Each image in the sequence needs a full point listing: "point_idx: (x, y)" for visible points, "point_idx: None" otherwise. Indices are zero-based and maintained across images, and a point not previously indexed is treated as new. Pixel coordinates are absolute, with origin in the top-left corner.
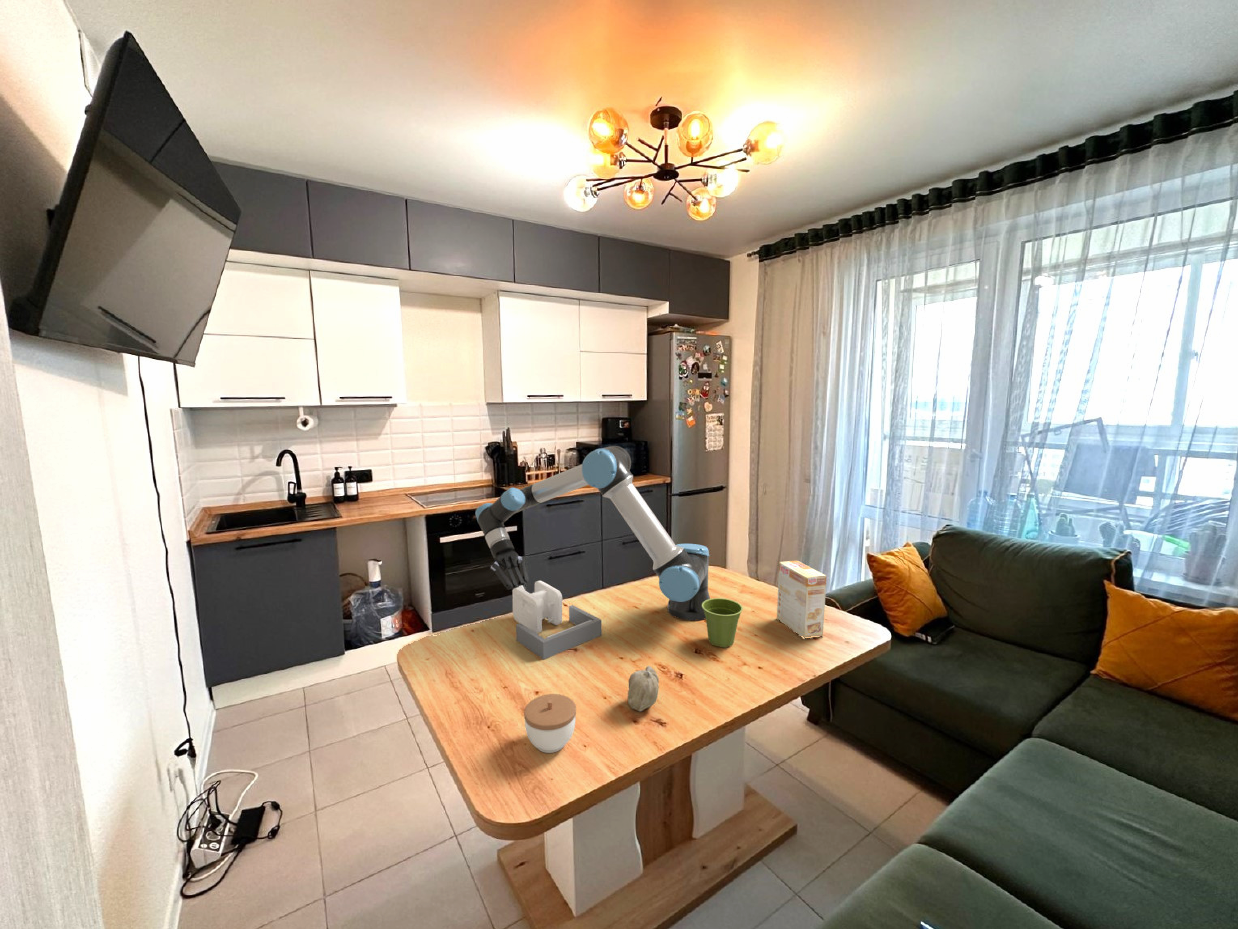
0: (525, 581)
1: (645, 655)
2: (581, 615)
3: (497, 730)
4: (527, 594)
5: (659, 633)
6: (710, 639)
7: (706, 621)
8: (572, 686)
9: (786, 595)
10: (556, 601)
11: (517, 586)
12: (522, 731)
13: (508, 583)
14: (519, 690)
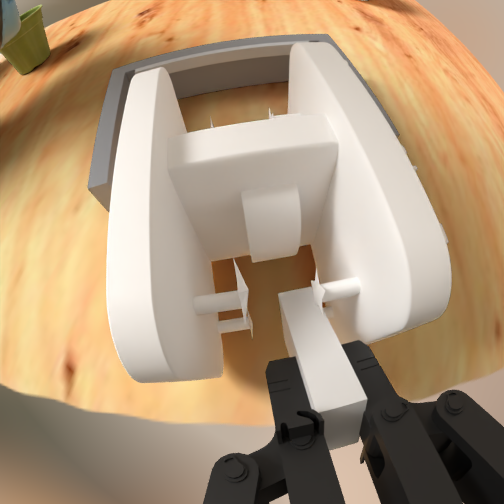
0: (257, 468)
1: (132, 40)
2: (120, 122)
3: (411, 22)
4: (359, 96)
5: (50, 91)
6: (44, 52)
7: (32, 37)
8: (297, 17)
9: None
10: (177, 102)
11: (370, 418)
12: (382, 10)
13: (477, 412)
14: (385, 41)
